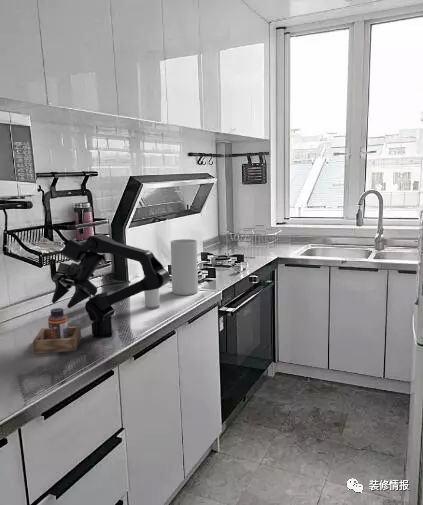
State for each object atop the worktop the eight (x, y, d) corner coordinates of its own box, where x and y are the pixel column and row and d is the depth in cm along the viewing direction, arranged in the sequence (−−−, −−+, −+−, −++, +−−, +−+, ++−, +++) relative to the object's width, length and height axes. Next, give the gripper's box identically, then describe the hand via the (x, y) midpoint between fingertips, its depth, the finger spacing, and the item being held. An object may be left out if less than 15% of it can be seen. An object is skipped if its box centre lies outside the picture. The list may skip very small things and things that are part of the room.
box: (81, 337, 162) (80, 326, 161) (75, 350, 149) (74, 338, 149) (42, 339, 160) (41, 328, 159) (33, 353, 147) (32, 341, 147)
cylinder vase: (175, 289, 230) (173, 239, 226) (200, 289, 228) (199, 239, 224) (169, 295, 218) (167, 242, 214) (195, 295, 216) (194, 243, 212)
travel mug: (163, 306, 199) (161, 260, 196) (153, 310, 194) (151, 263, 191) (151, 304, 203) (149, 259, 199) (142, 308, 197) (140, 262, 194)
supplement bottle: (45, 344, 153) (43, 311, 151) (58, 338, 158) (55, 306, 156) (60, 346, 150) (57, 312, 149) (72, 340, 156) (70, 307, 154)
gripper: (56, 250, 160) (28, 287, 154) (88, 256, 149) (59, 296, 142) (76, 269, 168) (51, 305, 161) (108, 276, 156) (82, 315, 149)
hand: (60, 305), depth 153 cm, fingers open, 9 cm apart
